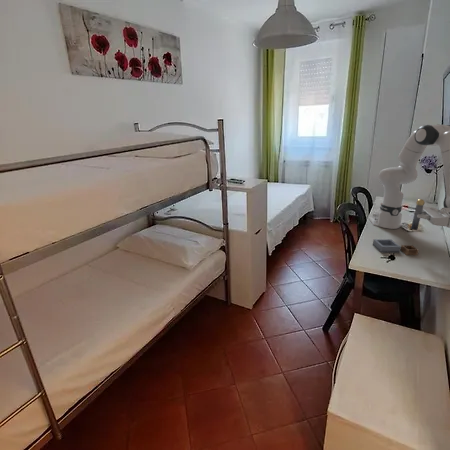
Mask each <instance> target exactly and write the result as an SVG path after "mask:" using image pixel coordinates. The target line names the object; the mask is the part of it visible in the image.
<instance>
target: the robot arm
mask: <svg viewBox="0 0 450 450" xmlns="http://www.w3.org/2000/svg"><path fill="white" fill-rule="evenodd" d="M428 146H429V147H430V146H431V147H433V146H439V148H440V151H441V152H440V153H441V158H442V165H443V169H442V170H443V173H442V174H443V185H444V199H443V201H442V202H443V203H442V205H443V207H441V208H440V209H438V208H436V207H431V206H423V209H422V213H421V214H417V217H418V218H420V219H423V220H427V221H428V222H429V223H430V224H431V225H433V226H438V227H439V226H440V227H446V228H449V229H450V124H438V123H437V124H427V125H425V124H424V125H422V126H419V127H418V128H417V129H416V130H413V132H412V133H411V134H410V136H409V137H408V138H407V139H406V141H405V143H404V145H403V147H402V148H401V150H400V152H399V154H398V156H397V158H398V160H399V165H398V166H393V167H392V166H391V167H387V168H383V169H381V170H380V171H379V173H378V174H377V175H378V176H377V178H378V179H377V180H378V182H379V183H380V184H381V185H382V186H383V198H382V202H381V203H380V206H379V208H378V209H376V210H375V211H374V212H373V213H372V216H369V217H368V220H369V221H370V222H371V224H372V226H375V227H379V228H384V229H390V230H391V229H392V230H393V229H394V230H396V229H399V228H400V227H402V226H403V223H402V216H403V215H402V212H401V211H402V210H403V209H402V208H403V206H402V205H403V199H404V193H403V192H402V191H401V189H400V185H406V184H410V183H414V182H415V181H417V178H418V171H417V169H416V168H417V164H418V162H419V160H420V158H421V157H422V155H423V153H424V151H425V150H426V149H427V147H428ZM414 213H415V210H414V211H413V214H414Z"/></svg>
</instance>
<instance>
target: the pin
mask: <svg viewBox="0 0 450 450" xmlns="http://www.w3.org/2000/svg"><path fill="white" fill-rule="evenodd" d="M415 203H416V205H415V209H414V211H415V213H414V212H413V217H412V222H411V227H410V229H411V230H413V231H417V230H418V228H419V225H420V221H421V218H418V217H417V214H421V213H422V209H423V207H424V205H425V200H424V199H417V200H416V202H415Z"/></svg>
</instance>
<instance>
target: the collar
mask: <svg viewBox="0 0 450 450" xmlns="http://www.w3.org/2000/svg"><path fill="white" fill-rule="evenodd" d="M400 247H401V248H400V252H401V253H402V254H404V255H406V256H418V254H419V252H420V251H419V249H418V248H417V247H415V246H414V245H413V244H412V245H409V244H408V245H407V244H405V245H403V244H401V245H400Z"/></svg>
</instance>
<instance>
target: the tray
mask: <svg viewBox="0 0 450 450" xmlns="http://www.w3.org/2000/svg"><path fill="white" fill-rule="evenodd" d="M372 246H373V247H374V248H375V249H376V250H377V251H378V252H380V253H382V254H383V253H389V254H390V253H391V254H392V253H393V254H395V253H396V254H399V253H400V252H401V251H400V249H401V245H399V244H398V243H397V242H395V241H394V240H393V239H385V238H383V239H382V238H379V239H377V238H374V239H373V241H372Z"/></svg>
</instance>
